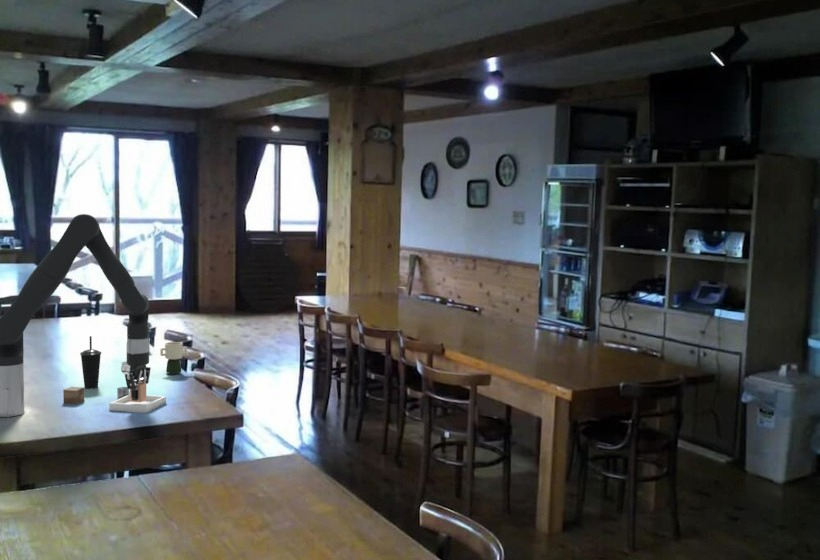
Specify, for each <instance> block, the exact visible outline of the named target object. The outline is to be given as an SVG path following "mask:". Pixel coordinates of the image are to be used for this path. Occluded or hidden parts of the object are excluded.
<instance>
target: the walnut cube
mask: <svg viewBox="0 0 820 560" xmlns="http://www.w3.org/2000/svg"><path fill="white" fill-rule="evenodd" d="M62 393H63V404H69V405H78V404H81V403H83V402H85V387H84V386H70V387H67V388H65V389H63V391H62Z"/></svg>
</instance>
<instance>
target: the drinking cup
mask: <svg viewBox="0 0 820 560" xmlns="http://www.w3.org/2000/svg"><path fill="white" fill-rule="evenodd" d="M92 341H93V339H92V336H89V349H86V350H83V351H81V352H80V353H79V354H80V359H81V367H82V377H83V385H84V386H83V387H84V389H88V390H91V388H93V389H97V388H98V387H99V381H100V380H99V378H100V377H99V375H100V365H101V356H102V355H101V354H102V351H101V350H98V349H94V348H92Z"/></svg>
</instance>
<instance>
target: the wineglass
mask: <svg viewBox="0 0 820 560" xmlns="http://www.w3.org/2000/svg"><path fill="white" fill-rule="evenodd" d="M120 364H121V367H120V372H121V373H122V374H123V375H124V376H125V374H128V373H129V372H130V365H128V364H127V360H126V361H122V362H121V363H120ZM129 394H130V391H129Z"/></svg>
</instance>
